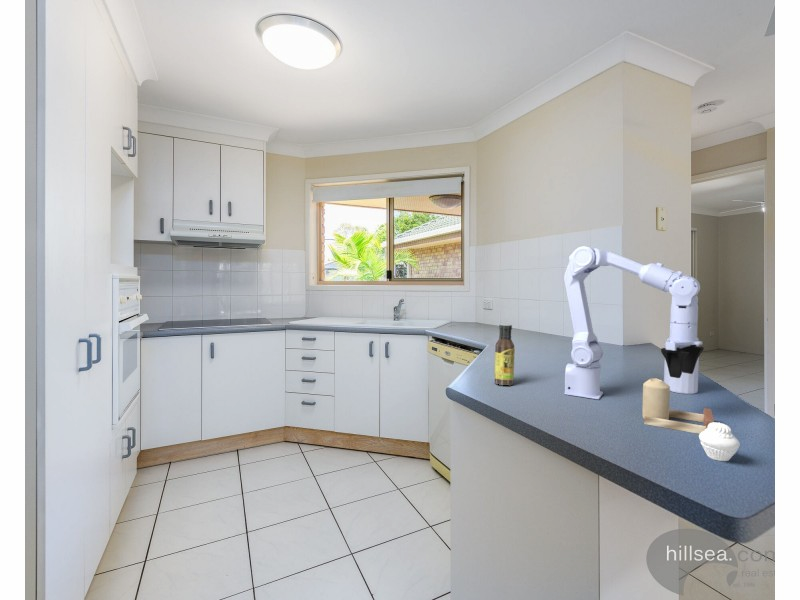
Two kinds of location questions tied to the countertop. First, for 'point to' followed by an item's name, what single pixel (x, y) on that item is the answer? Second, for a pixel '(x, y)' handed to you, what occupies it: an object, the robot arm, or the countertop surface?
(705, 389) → the countertop surface
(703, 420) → the channel
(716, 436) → the muffin
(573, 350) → the robot arm
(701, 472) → the countertop surface
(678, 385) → the soap bottle
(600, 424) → the countertop surface
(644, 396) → the candle
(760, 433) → the countertop surface
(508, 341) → the sauce bottle
